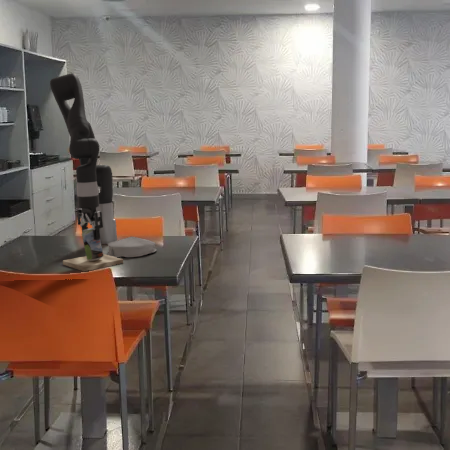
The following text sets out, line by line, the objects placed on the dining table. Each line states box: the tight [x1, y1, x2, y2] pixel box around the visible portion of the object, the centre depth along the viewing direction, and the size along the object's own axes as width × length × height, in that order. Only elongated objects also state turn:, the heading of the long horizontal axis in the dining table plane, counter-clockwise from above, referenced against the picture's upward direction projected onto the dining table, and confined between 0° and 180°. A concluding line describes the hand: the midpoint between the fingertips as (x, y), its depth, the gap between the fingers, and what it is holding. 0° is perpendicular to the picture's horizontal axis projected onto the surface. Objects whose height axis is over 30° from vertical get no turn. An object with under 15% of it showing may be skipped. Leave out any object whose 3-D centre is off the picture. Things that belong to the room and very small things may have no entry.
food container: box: [107, 236, 157, 258], centre depth 250 cm, size 20×20×7 cm
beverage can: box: [81, 227, 104, 261], centre depth 231 cm, size 6×7×12 cm
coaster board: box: [62, 253, 124, 272], centre depth 233 cm, size 16×16×2 cm
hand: (91, 238), depth 232 cm, fingers open, 8 cm apart
